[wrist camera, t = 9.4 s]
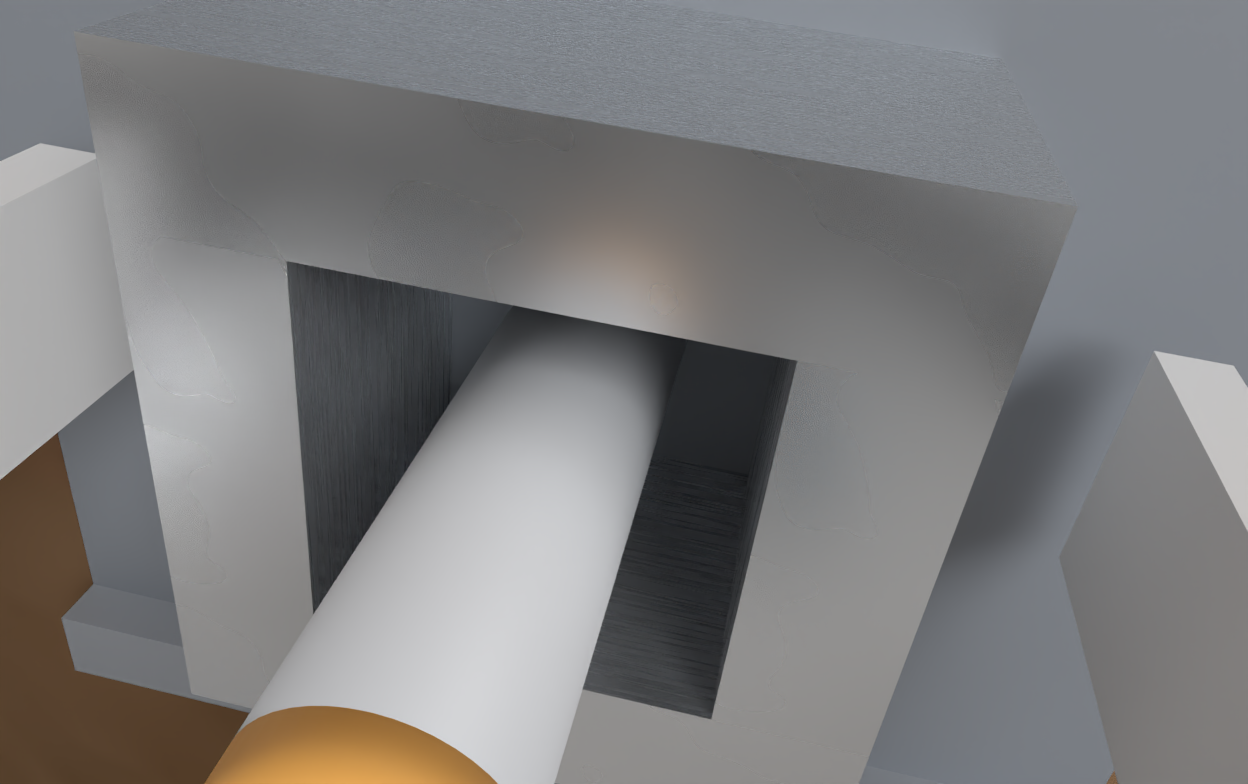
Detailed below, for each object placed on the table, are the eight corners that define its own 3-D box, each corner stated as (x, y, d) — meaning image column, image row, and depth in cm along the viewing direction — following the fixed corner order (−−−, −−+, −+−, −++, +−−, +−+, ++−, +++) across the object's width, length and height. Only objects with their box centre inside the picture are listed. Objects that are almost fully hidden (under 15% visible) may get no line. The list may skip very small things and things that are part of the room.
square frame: (347, 478, 14) (191, 693, 11) (322, -51, 10) (72, 30, 7) (838, 585, 14) (832, 851, 10) (1001, 58, 10) (1078, 205, 6)
